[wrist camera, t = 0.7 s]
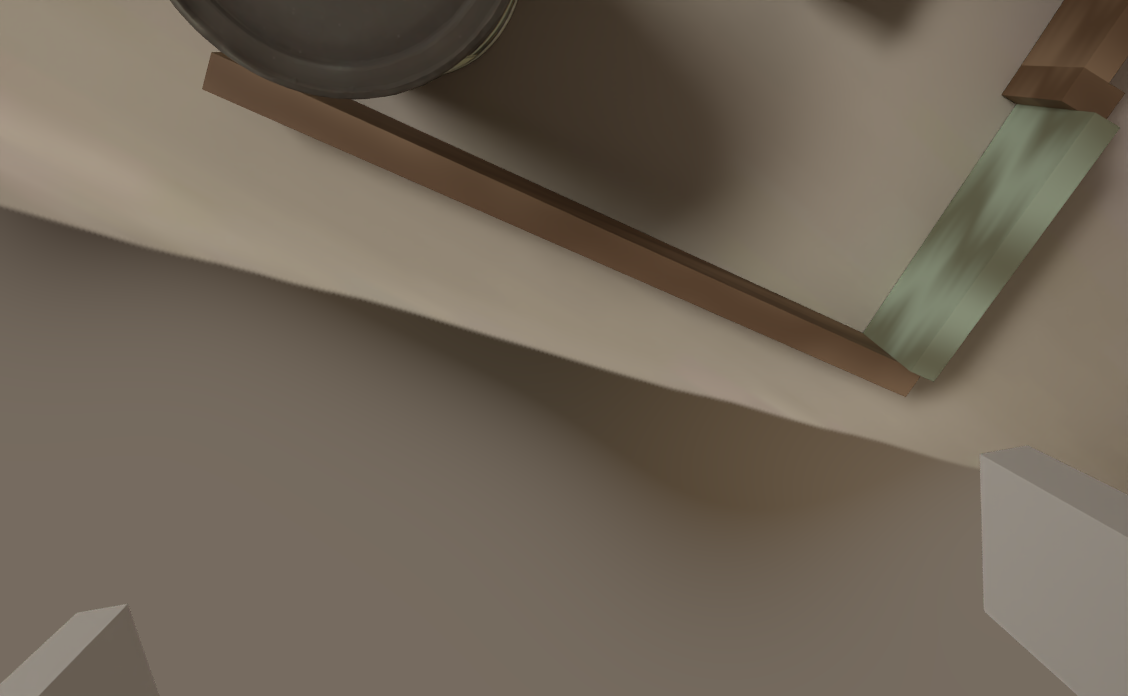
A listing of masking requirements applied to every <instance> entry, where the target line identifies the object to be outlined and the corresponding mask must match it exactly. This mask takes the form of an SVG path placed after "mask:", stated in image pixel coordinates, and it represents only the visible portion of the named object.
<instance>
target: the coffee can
mask: <svg viewBox="0 0 1128 696" xmlns="http://www.w3.org/2000/svg"><path fill="white" fill-rule="evenodd" d="M170 1H171V3H172V4H173V5H174V7H175V8H176V9H177V10H178V11H179V12H180V14H181V15H182V16H183V17H184V18H185V19H186V20H187V21H188V22H189V23H190V24H191V25H192V26H193V27H194V29H195V30H196V31H197V32H199V33H200V34H201V35H202V36H203V37H204V38H205V39H206V40H208V41H209V42H210V43H211V44H212V45H214V46H215V47H216V48H217V49H218V50H220V51H221V52H222V53H223V54H225V55H226V56H228V57H229V58H230V59H232V60H233V61H235V62H236V63H238V64H239V65H241V66H243V67H244V68H246V69H247V70H249V71H251V72H253V73H255V74H257V75H258V76H260V77H262V78H264V79H266V80H268V81H271V82H274V83H276V84H279V85H281V86H284V87H286V88H289V89H292V90H295V91H299V92H302V93H306V94H311V95H315V96H321V97H328V98H335V99H370V98H377V97H385V96H390V95H396V94H399V93H402V92H405V91H408V90H411V89H414V88H417V87H419V86H422V85H425V84H426V83H428V82H430V81H432V80H434V79H436V78H438V77H439V76H441V75H443V74H446V73H449V72H452V71H455V70H457V69H460V68H462V67H464V66H466V65H467V64H469V63H470V62H472V61H474V60H476V59H477V58H478V57H480V56H481V55H482V54H483V53H484V52H485V51H486V50H487V49H488V48H489V47H490V46H491V45H492V44H493V43H494V42H495V41H496V40H497V38H498V37H499V36H500V34H501V33H502V31H503V30H504V28H505V27H506V25H507V23H508V21H509V20H510V18H511V16H512V13H513V11H514V9H515V6H516V4H517V1H518V0H170Z"/></svg>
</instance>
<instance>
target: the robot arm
mask: <svg viewBox="0 0 1128 696" xmlns="http://www.w3.org/2000/svg"><path fill="white" fill-rule="evenodd" d="M980 481H981V520H982V555H983V556H982V560H983V598H984V612H986V613H987V614H988V615H989V616H990V617H991V618H992V619H993V620H994V621H996V622H997V623H998V624H999V625H1000V626H1001V627H1002V628H1003V629H1004V630H1006V631H1007V632H1008V633H1009V634H1010V635H1011V636H1012V637H1013V638H1014V639H1015V640H1017V641H1018V642H1019V643H1020V644H1021V645H1022V646H1023V647H1025V648H1026V649H1027V650H1028V651H1029V652H1030V653H1031V654H1032V655H1033V656H1035V658H1037V659H1038V660H1039V661H1040V662H1041V663H1042V664H1043V665H1044V666H1045V667H1047V668H1048V669H1049V670H1050V671H1051V672H1052V673H1053V674H1054V675H1055V676H1057V677H1058V678H1059V679H1060V680H1061V681H1062V682H1063V683H1064V684H1065V685H1067V686H1068V687H1069V688H1070V689H1071V690H1072V691H1073V692H1074V693H1075V694H1076V695H1078V696H1128V494H1126V493H1124V492H1122V491H1120V490H1117V489H1115V488H1113V487H1111V486H1109V485H1107V484H1105V483H1103V482H1101V481H1099V480H1097V479H1095V478H1093V477H1091V476H1089V475H1087V474H1085V473H1083V472H1081V471H1079V470H1077V469H1075V468H1073V467H1071V466H1069V465H1067V464H1065V463H1063V462H1061V461H1059V460H1057V459H1055V458H1053V457H1051V456H1049V455H1047V454H1045V453H1043V452H1040V451H1038V450H1036V449H1034V448H1032V447H1030V446H1022V447H1016V448H1011V449H1005V450H999V451H994V452H988V453H982V454H980ZM0 696H159V693H158V690H157V687H156V684H155V681H154V678H153V676H152V673H151V670H150V667H149V664H148V661H147V658H146V655H145V652H144V649H143V646H142V644H141V641H140V638H139V635H138V632H137V629H136V626H135V623H134V620H133V617H132V614H131V611H130V609H129V606H128V604H124V605H119V606H113V607H107V608H102V609H96V610H91V611H85V612H79V613H76V614H75V615H74V616H73V617H72V618H71V619H70V620H69V621H68V622H66V623H65V624H64V626H62V627H61V628H60V629H59V630H58V631H57V632H56V633H55V634H54V635H53V636H51V638H49V639H48V640H47V641H46V642H45V643H44V644H43V645H42V646H41V647H40V648H39V649H37V650H36V652H34V653H33V654H32V655H31V656H30V657H29V658H28V659H27V660H26V661H25V662H23V663H22V664H21V665H20V666H19V667H18V668H17V669H16V670H15V671H14V672H13V673H12V674H11V675H9V676H8V677H7V678H6V679H5V680H4V681H3V682H2V683H1V684H0Z"/></svg>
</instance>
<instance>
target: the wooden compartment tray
mask: <svg viewBox="0 0 1128 696" xmlns="http://www.w3.org/2000/svg"><path fill="white" fill-rule="evenodd" d="M1127 57H1128V0H1064V1H1063V3H1062V4H1061V6H1060V8H1059V9H1058V11H1057V12H1056V14H1055V15H1054V17H1053V18H1052V20H1051V21H1050V23H1049V24H1048V26H1047V27H1046V29H1045V30H1044V32H1043V33H1042V35H1041V36H1040V38H1039V39H1038V41H1037V42H1036V44H1035V45H1034V47H1033V48H1032V50H1031V51H1030V53H1029V54H1028V56H1027V57H1026V59H1025V60H1024V62H1023V64H1022V65H1021V67H1020V68H1019V70H1018V71H1017V73H1016V74H1015V76H1014V77H1013V79H1012V80H1011V82H1010V83H1009V85H1008V86H1007V88H1006V89H1005V91H1004V92H1003V94H1002V95H1003V96H1004V97H1006V98H1008V99H1009V100H1011V101H1013V102H1014V103H1016V106H1015V107H1014V109H1013V110H1012V112H1011V113H1010V115H1009V116H1008V118H1007V119H1006V121H1005V122H1004V124H1003V125H1002V127H1001V128H1000V130H999V131H998V133H997V134H996V136H995V137H994V139H993V140H992V142H991V143H990V145H989V146H988V148H987V149H986V151H985V152H984V154H983V155H982V156H981V158H980V159H979V161H978V162H977V164H976V165H975V167H974V168H973V170H972V171H971V173H970V174H969V176H968V177H967V179H966V180H965V182H964V183H963V185H962V186H961V188H960V189H959V191H958V192H957V194H956V195H955V197H954V198H953V200H952V201H951V203H950V204H949V206H948V207H947V209H946V210H945V212H944V213H943V215H942V216H941V218H940V219H939V221H938V222H937V224H936V225H935V226H934V228H933V229H932V231H931V232H930V234H929V235H928V237H927V238H926V240H925V241H924V243H923V244H922V246H921V247H920V249H919V250H918V252H917V253H916V255H915V256H914V258H913V259H912V261H911V262H910V264H909V265H908V267H907V268H906V270H905V271H904V273H903V274H902V276H901V277H900V279H899V280H898V282H897V283H896V285H895V286H894V288H893V289H892V291H891V292H890V294H889V295H888V297H887V298H886V299H885V301H884V302H883V304H882V305H881V307H880V308H879V310H878V311H877V313H876V314H875V316H874V317H873V319H872V320H871V322H870V323H869V325H868V326H867V328H866V329H865V331H864V332H863V333H861V332H859V331H857V330H855V329H853V328H850V327H848V326H846V325H844V324H842V323H839V322H837V321H835V320H833V319H831V318H828V317H826V316H824V315H822V314H820V313H818V312H815V311H813V310H811V309H809V308H807V307H804V306H802V305H800V304H798V303H796V302H793V301H791V300H789V299H787V298H785V297H783V296H780V295H778V294H776V293H774V292H772V291H769V290H767V289H765V288H763V287H761V286H758V285H756V284H754V283H752V282H750V281H747V280H745V279H743V278H741V277H739V276H737V275H734V274H732V273H730V272H728V271H726V270H723V269H721V268H719V267H717V266H715V265H712V264H710V263H708V262H706V261H704V260H702V259H699V258H697V257H695V256H693V255H691V254H688V253H686V252H684V251H682V250H680V249H677V248H675V247H673V246H671V245H669V244H667V243H664V242H662V241H660V240H658V239H656V238H653V237H651V236H649V235H647V234H645V233H642V232H640V231H638V230H636V229H634V228H631V227H629V226H627V225H625V224H623V223H621V222H618V221H616V220H614V219H612V218H610V217H607V216H605V215H603V214H601V213H599V212H596V211H594V210H592V209H590V208H588V207H586V206H583V205H581V204H579V203H577V202H575V201H572V200H570V199H568V198H566V197H564V196H561V195H559V194H557V193H555V192H553V191H550V190H548V189H546V188H544V187H542V186H540V185H537V184H535V183H533V182H531V181H529V180H526V179H524V178H522V177H520V176H518V175H515V174H513V173H511V172H509V171H507V170H505V169H502V168H500V167H498V166H496V165H494V164H491V163H489V162H487V161H485V160H483V159H480V158H478V157H476V156H474V155H472V154H469V153H467V152H465V151H463V150H461V149H459V148H456V147H454V146H452V145H450V144H448V143H445V142H443V141H441V140H439V139H437V138H434V137H432V136H430V135H428V134H426V133H424V132H421V131H419V130H417V129H415V128H413V127H410V126H408V125H406V124H404V123H402V122H399V121H397V120H395V119H393V118H391V117H388V116H386V115H384V114H382V113H380V112H378V111H375V110H373V109H371V108H369V107H367V106H364V105H362V104H360V103H358V102H356V101H353V100H351V99H335V98H328V97H321V96H315V95H311V94H306V93H302V92H299V91H295V90H292V89H289V88H286V87H284V86H281V85H279V84H276V83H274V82H271V81H268V80H266V79H264V78H262V77H260V76H258V75H257V74H255V73H253V72H251V71H249V70H247V69H246V68H244V67H243V66H241V65H239V64H238V63H236V62H235V61H233V60H232V59H230V58H229V57H228V56H226V55H225V54H223V53H222V52H211V56H210V60H209V64H208V68H207V72H206V76H205V80H204V84H203V88H202V89H203V90H205V91H208V92H210V93H212V94H214V95H217V96H219V97H221V98H224V99H226V100H228V101H230V102H233V103H235V104H237V105H240V106H242V107H244V108H246V109H249V110H251V111H253V112H256V113H258V114H260V115H262V116H265V117H267V118H269V119H272V120H274V121H276V122H278V123H281V124H283V125H285V126H288V127H290V128H292V129H294V130H297V131H299V132H301V133H304V134H306V135H308V136H310V137H313V138H315V139H317V140H320V141H322V142H324V143H326V144H329V145H331V146H333V147H336V148H338V149H340V150H342V151H345V152H347V153H349V154H352V155H354V156H356V157H358V158H361V159H363V160H365V161H368V162H370V163H372V164H374V165H377V166H379V167H381V168H384V169H386V170H388V171H390V172H393V173H395V174H397V175H400V176H402V177H404V178H406V179H409V180H411V181H413V182H416V183H418V184H420V185H422V186H425V187H427V188H429V189H432V190H434V191H436V192H438V193H441V194H443V195H445V196H448V197H450V198H452V199H454V200H457V201H459V202H461V203H464V204H466V205H468V206H470V207H473V208H475V209H477V210H480V211H482V212H484V213H486V214H489V215H491V216H493V217H496V218H498V219H500V220H502V221H505V222H507V223H509V224H512V225H514V226H516V227H518V228H521V229H523V230H525V231H528V232H530V233H532V234H534V235H537V236H539V237H541V238H544V239H546V240H548V241H550V242H553V243H555V244H557V245H560V246H562V247H564V248H566V249H569V250H571V251H573V252H575V253H578V254H580V255H582V256H585V257H587V258H589V259H591V260H594V261H596V262H598V263H601V264H603V265H605V266H607V267H610V268H612V269H614V270H617V271H619V272H621V273H623V274H626V275H628V276H630V277H633V278H635V279H637V280H639V281H642V282H644V283H646V284H649V285H651V286H653V287H655V288H658V289H660V290H662V291H665V292H667V293H669V294H671V295H674V296H676V297H678V298H681V299H683V300H685V301H687V302H690V303H692V304H694V305H697V306H699V307H701V308H703V309H706V310H708V311H710V312H713V313H715V314H717V315H719V316H722V317H724V318H726V319H729V320H731V321H733V322H735V323H738V324H740V325H742V326H745V327H747V328H749V329H751V330H754V331H756V332H758V333H761V334H763V335H765V336H767V337H770V338H772V339H774V340H777V341H779V342H781V343H783V344H786V345H788V346H790V347H793V348H795V349H797V350H799V351H802V352H804V353H806V354H809V355H811V356H813V357H815V358H818V359H820V360H822V361H825V362H827V363H829V364H831V365H834V366H836V367H838V368H841V369H843V370H845V371H847V372H850V373H852V374H854V375H857V376H859V377H861V378H863V379H866V380H868V381H870V382H873V383H875V384H877V385H879V386H882V387H884V388H886V389H889V390H891V391H893V392H895V393H898V394H900V395H902V396H905V397H906V396H907V394H908V393H909V392H910V390H911V389H912V387H913V386H914V385H915V383H916V382H917V380H918V379H919V378H920V376H922V377H924V378H926V379H928V380H931V381H933V382H934V381H935V379H936V378H937V377H938V375H939V374H940V373H941V371H942V370H943V369H944V367H945V366H946V364H947V363H948V362H949V360H950V359H951V358H952V356H953V355H954V354H955V352H956V351H957V349H958V348H959V347H960V345H961V344H962V343H963V341H964V340H965V339H966V337H967V336H968V334H969V333H970V332H971V330H972V329H973V328H974V326H975V325H976V324H977V322H978V321H979V319H980V318H981V317H982V315H983V314H984V313H985V311H986V310H987V309H988V307H989V306H990V304H991V303H992V302H993V300H994V299H995V298H996V296H997V295H998V294H999V292H1000V291H1001V289H1002V288H1003V287H1004V285H1005V284H1006V283H1007V281H1008V280H1009V279H1010V277H1011V276H1012V274H1013V273H1014V272H1015V270H1016V269H1017V268H1018V266H1019V265H1020V264H1021V262H1022V261H1023V259H1024V258H1025V257H1026V255H1027V254H1028V253H1029V251H1030V250H1031V249H1032V247H1033V246H1034V244H1035V243H1036V242H1037V240H1038V239H1039V238H1040V236H1041V235H1042V234H1043V232H1044V231H1045V229H1046V228H1047V227H1048V225H1049V224H1050V223H1051V221H1052V220H1053V219H1054V217H1055V216H1056V214H1057V213H1058V212H1059V210H1060V209H1061V208H1062V206H1063V205H1064V204H1065V202H1066V201H1067V199H1068V198H1069V197H1070V195H1071V194H1072V193H1073V191H1074V190H1075V189H1076V187H1077V186H1078V184H1079V183H1080V182H1081V180H1082V179H1083V178H1084V176H1085V175H1086V174H1087V172H1088V171H1089V169H1090V168H1091V167H1092V165H1093V164H1094V163H1095V161H1096V160H1097V158H1098V157H1099V156H1100V154H1101V153H1102V152H1103V150H1104V149H1105V148H1106V146H1107V145H1108V143H1109V142H1110V141H1111V139H1112V138H1113V137H1114V135H1115V134H1116V133H1117V131H1118V130H1119V128H1120V127H1118V126H1117V125H1115V124H1113V123H1112V122H1110V121H1108V120H1107V118H1108V116H1109V115H1110V114H1111V112H1112V111H1113V109H1114V108H1115V107H1116V105H1117V104H1118V102H1119V101H1120V100H1121V98H1122V97H1123V96H1124V94H1125V93H1124V92H1122V91H1121V90H1119V89H1118V88H1116V87H1115V86H1113V85H1111V84H1110V83H1109V82H1110V81H1111V80H1112V78H1113V77H1114V75H1115V74H1116V73H1117V71H1118V70H1119V68H1120V67H1121V65H1122V64H1123V63H1124V61H1125V60H1126V58H1127Z"/></svg>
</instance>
